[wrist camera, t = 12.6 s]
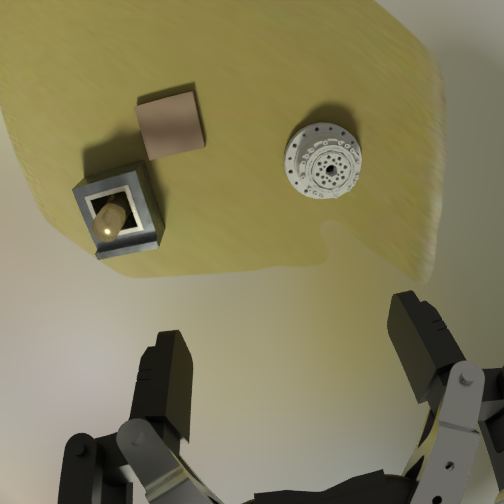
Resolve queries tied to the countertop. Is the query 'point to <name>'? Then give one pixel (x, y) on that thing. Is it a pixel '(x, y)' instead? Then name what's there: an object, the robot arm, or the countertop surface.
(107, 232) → the translucent brown rounded cylinder
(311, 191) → the mechanical component
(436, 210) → the countertop surface
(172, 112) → the brown square panel
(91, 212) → the grey square frame
